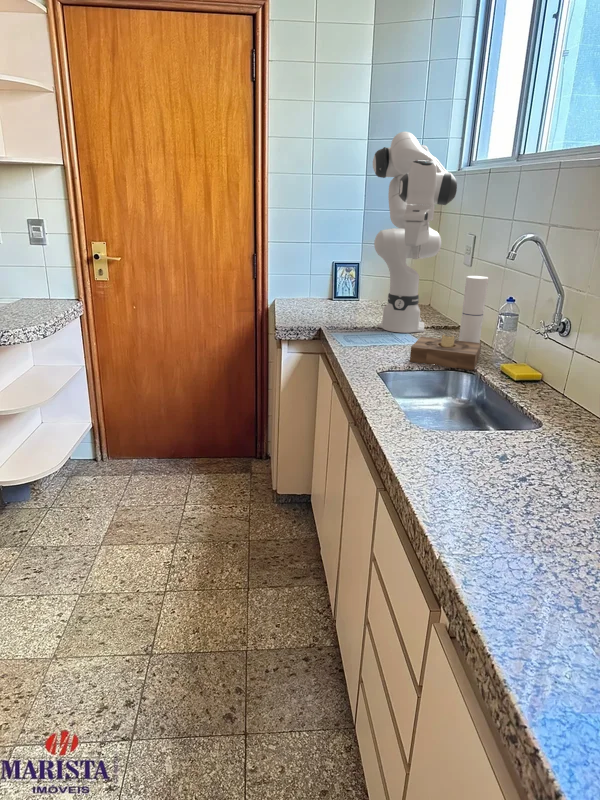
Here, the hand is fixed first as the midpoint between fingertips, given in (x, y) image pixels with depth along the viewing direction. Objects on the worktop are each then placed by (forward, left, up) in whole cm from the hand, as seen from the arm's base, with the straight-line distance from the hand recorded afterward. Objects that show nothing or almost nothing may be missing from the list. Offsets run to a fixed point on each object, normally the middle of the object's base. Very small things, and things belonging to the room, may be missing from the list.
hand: (415, 258), depth 181 cm
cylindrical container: (-13, +19, -31) cm, 39 cm away
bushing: (+6, +14, -31) cm, 34 cm away
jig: (+6, +14, -31) cm, 34 cm away
